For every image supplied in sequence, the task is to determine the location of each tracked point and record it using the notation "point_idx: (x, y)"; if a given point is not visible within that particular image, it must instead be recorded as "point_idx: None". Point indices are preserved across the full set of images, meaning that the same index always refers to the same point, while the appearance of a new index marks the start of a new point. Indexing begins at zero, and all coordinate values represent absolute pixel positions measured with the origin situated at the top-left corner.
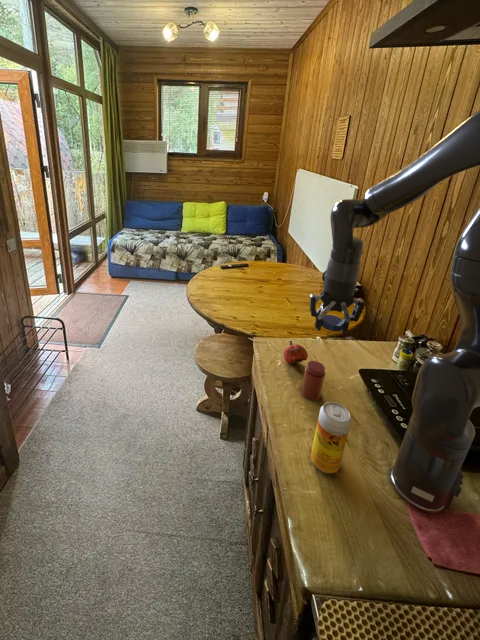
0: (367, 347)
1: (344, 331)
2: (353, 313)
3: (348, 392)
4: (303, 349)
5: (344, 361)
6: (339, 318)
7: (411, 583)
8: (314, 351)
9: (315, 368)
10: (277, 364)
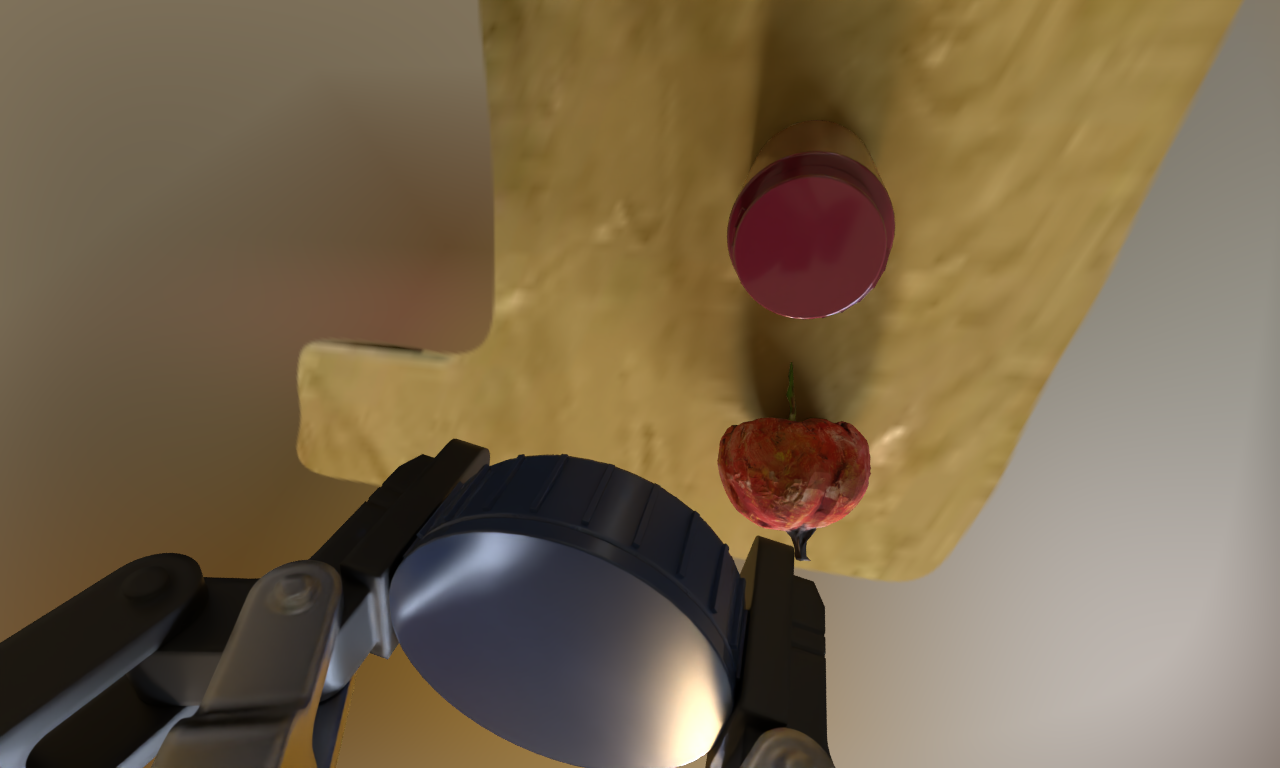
0: (372, 479)
1: (443, 460)
2: (147, 720)
3: (571, 187)
4: (752, 479)
5: (507, 410)
6: (428, 669)
7: None
8: None
9: (830, 222)
10: (904, 431)
